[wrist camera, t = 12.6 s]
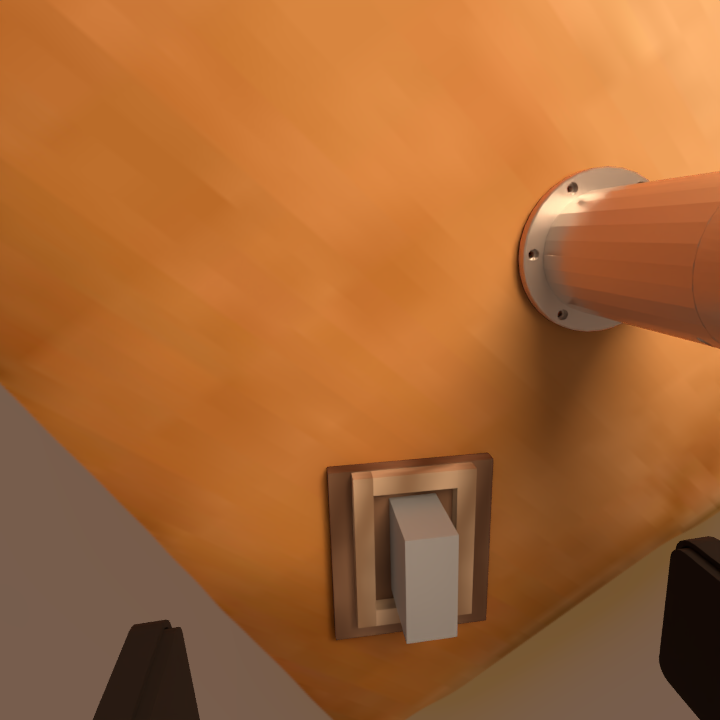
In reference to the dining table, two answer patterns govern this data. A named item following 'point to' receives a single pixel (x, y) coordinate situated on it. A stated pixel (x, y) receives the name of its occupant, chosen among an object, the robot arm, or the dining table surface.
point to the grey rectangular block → (424, 567)
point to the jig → (372, 535)
